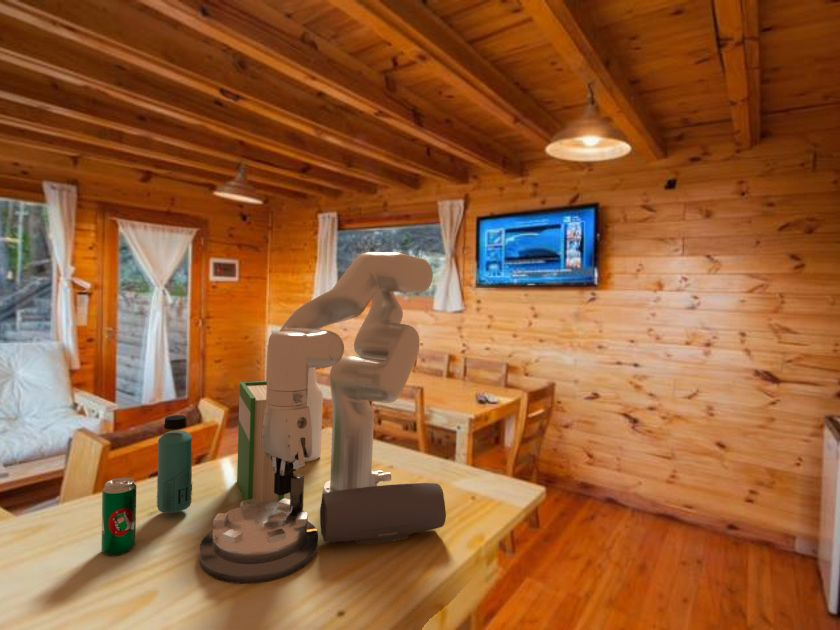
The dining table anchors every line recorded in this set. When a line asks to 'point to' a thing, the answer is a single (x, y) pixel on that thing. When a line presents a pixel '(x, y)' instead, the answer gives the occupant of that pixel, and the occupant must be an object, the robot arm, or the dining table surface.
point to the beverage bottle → (174, 467)
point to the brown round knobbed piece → (262, 528)
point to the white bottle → (315, 413)
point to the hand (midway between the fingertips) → (283, 492)
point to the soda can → (118, 516)
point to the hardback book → (254, 446)
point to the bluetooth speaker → (381, 512)
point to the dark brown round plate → (257, 571)
